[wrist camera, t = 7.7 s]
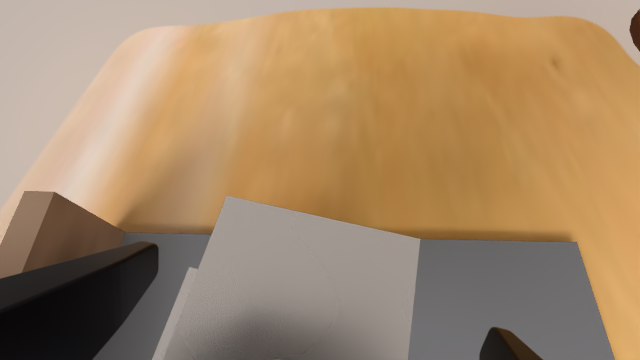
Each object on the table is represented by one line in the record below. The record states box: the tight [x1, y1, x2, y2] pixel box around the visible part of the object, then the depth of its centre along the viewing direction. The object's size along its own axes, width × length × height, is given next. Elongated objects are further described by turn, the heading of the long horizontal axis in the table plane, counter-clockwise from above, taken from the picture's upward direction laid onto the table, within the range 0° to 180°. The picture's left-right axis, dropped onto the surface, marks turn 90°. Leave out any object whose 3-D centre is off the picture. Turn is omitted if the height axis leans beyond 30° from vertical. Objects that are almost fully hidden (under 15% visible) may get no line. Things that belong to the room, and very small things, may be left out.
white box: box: [152, 196, 420, 360], centre depth 10 cm, size 8×4×13 cm, turn 77°
